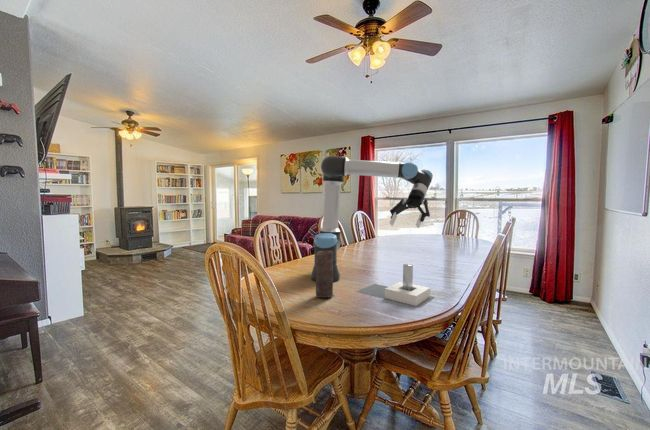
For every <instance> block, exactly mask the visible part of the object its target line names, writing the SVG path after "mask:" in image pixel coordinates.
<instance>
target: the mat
mask: <svg viewBox="0 0 650 430" xmlns="http://www.w3.org/2000/svg"><path fill="white" fill-rule="evenodd" d="M388 287H389V286H386V285H383V284H377V283H373V284H370V285H368V286H366V287H364V288H361V289H358V290H357V291H356V293H360V294H364V295H367V296H368V295H369V296H371V297H375V298H380V299H384V300H387V301H392V302H394V303H400V304H402V305H403V304H404V305H406V306H411V307H414V308H419V309H421V308H422V307H424V306H426V305H427V304H428V303H429V302H432V301H433V300H434V299H435V298H436V296H431V295H430V297H429V298H428V299H426V300H425V301H423V302H422V303H420V304H419V305H417V306H415V305H411V304H407V303H403V302H399V301H395V300H391V299H387V298H385V288H388Z"/></svg>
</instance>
